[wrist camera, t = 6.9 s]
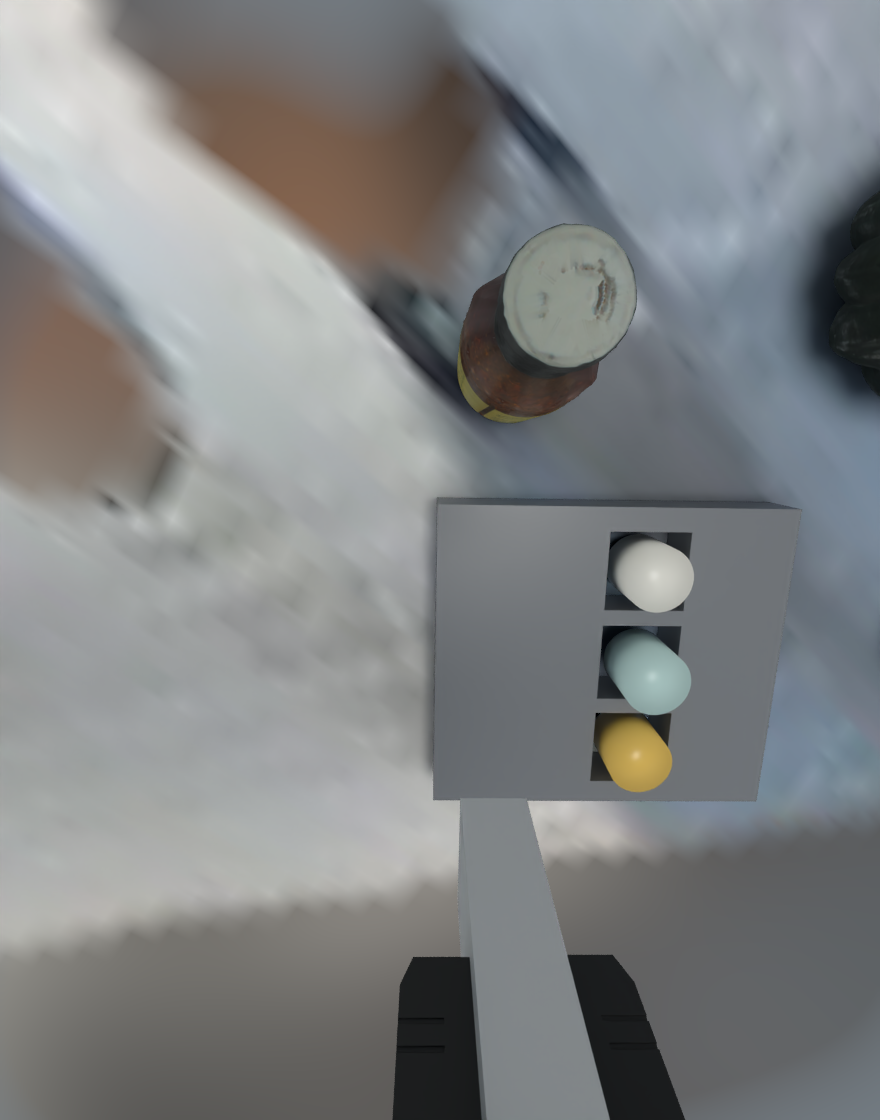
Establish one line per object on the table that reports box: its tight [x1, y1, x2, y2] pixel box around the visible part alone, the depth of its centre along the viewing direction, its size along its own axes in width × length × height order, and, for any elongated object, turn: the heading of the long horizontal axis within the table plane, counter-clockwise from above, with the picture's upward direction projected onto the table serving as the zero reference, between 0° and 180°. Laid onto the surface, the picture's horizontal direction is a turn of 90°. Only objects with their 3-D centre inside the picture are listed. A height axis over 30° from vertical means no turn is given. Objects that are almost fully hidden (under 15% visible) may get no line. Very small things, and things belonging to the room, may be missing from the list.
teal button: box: [603, 629, 691, 715], centre depth 36 cm, size 4×4×4 cm
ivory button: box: [607, 534, 694, 613], centre depth 36 cm, size 4×4×4 cm
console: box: [433, 498, 802, 801], centre depth 39 cm, size 22×20×4 cm
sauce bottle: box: [457, 224, 637, 423], centre depth 26 cm, size 6×6×20 cm
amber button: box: [593, 713, 672, 792], centre depth 38 cm, size 4×4×4 cm
